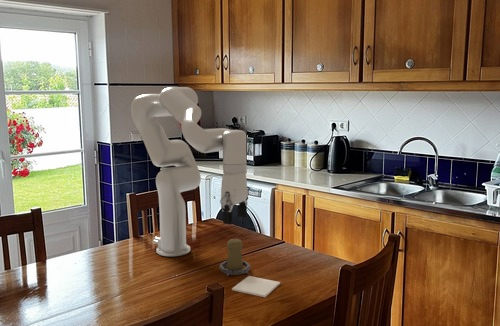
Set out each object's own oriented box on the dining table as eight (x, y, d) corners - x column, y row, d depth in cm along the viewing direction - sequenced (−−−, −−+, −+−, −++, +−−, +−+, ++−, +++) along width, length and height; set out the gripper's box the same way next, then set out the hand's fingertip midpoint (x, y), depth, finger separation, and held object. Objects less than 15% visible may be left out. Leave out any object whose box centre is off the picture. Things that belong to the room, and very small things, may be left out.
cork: (241, 275, 156) (241, 243, 154) (223, 274, 157) (223, 242, 155) (245, 268, 162) (245, 237, 160) (228, 267, 163) (228, 236, 161)
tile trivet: (232, 290, 144) (232, 288, 144) (248, 277, 154) (248, 275, 154) (265, 297, 140) (265, 295, 139) (280, 283, 149) (280, 282, 149)
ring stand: (214, 273, 157) (214, 267, 157) (229, 264, 166) (229, 258, 165) (240, 279, 153) (240, 272, 152) (254, 269, 161) (254, 262, 161)
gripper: (237, 164, 163) (237, 213, 166) (210, 171, 148) (211, 225, 150) (257, 165, 160) (257, 215, 162) (232, 173, 145) (232, 228, 147)
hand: (235, 220), depth 156 cm, fingers open, 9 cm apart
